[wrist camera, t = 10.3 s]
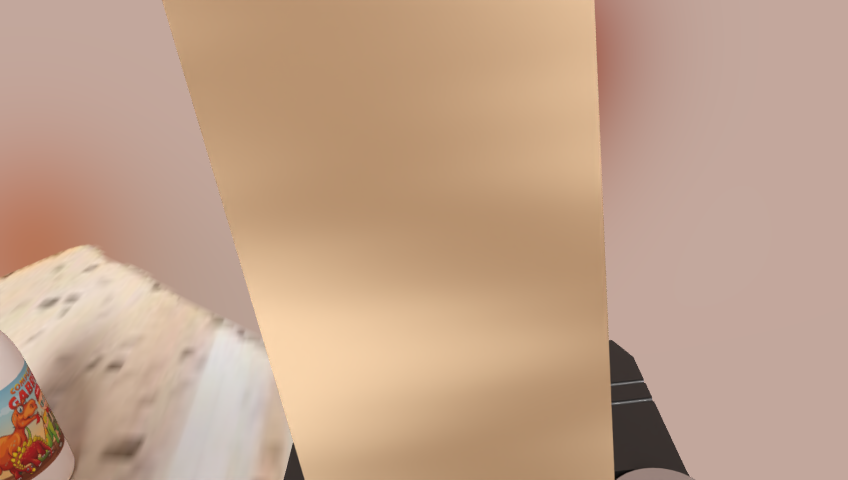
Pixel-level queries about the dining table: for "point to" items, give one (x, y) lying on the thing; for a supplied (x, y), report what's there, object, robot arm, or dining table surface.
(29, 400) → the milk bottle
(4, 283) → the dining table surface
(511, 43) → the oak block
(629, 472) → the robot arm
